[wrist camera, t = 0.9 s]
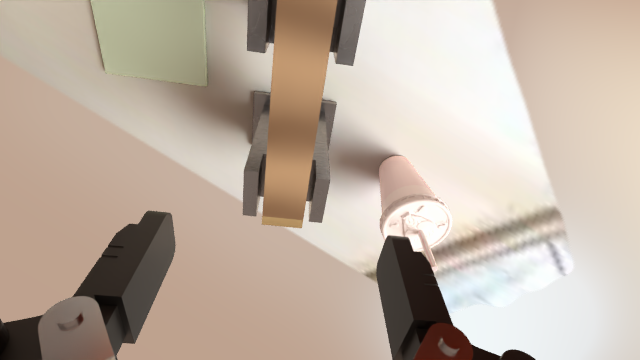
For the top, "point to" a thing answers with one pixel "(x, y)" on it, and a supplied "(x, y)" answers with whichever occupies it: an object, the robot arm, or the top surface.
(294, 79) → the rail
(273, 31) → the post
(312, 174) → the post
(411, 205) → the smoothie
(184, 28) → the mat
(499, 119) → the top surface
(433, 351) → the robot arm
